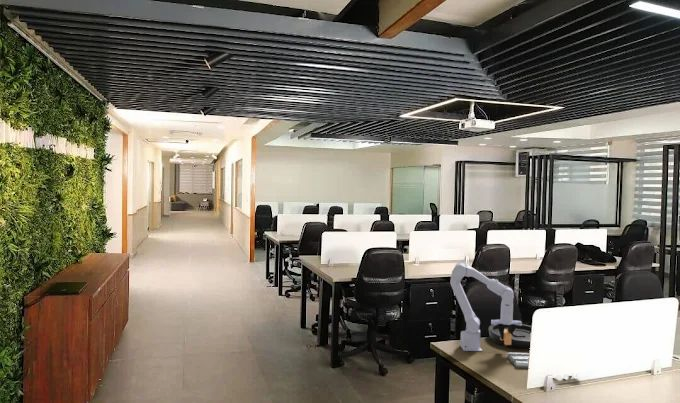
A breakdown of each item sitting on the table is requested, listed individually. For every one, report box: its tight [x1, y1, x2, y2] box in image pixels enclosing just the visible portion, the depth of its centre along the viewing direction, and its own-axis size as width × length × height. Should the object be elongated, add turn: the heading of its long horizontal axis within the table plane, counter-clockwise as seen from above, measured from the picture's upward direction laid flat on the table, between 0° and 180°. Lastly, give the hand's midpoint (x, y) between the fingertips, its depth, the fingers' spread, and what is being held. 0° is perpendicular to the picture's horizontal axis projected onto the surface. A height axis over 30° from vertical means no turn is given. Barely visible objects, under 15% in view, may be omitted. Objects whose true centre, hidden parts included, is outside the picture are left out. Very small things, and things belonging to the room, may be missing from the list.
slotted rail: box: [506, 351, 530, 369], centre depth 218 cm, size 10×13×2 cm
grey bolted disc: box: [488, 323, 532, 351], centre depth 248 cm, size 30×6×30 cm
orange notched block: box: [500, 329, 512, 345], centre depth 230 cm, size 3×8×5 cm, turn 179°
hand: (505, 339), depth 230 cm, fingers closed on orange notched block, 3 cm apart
